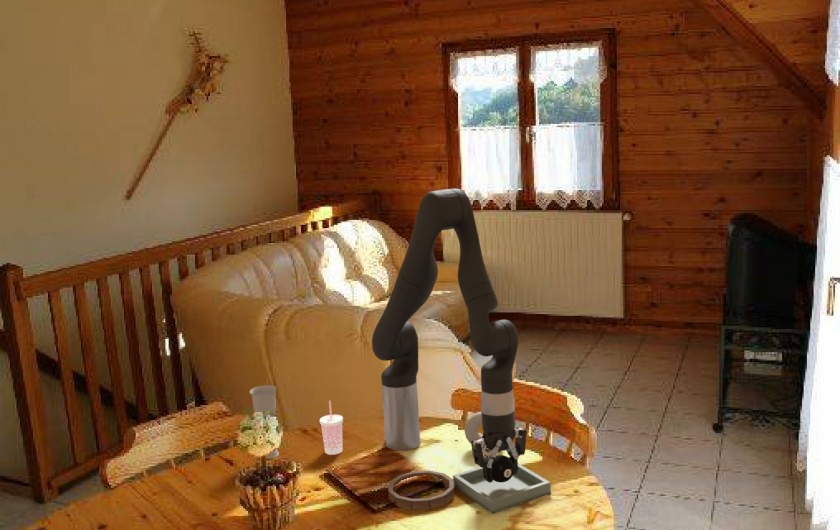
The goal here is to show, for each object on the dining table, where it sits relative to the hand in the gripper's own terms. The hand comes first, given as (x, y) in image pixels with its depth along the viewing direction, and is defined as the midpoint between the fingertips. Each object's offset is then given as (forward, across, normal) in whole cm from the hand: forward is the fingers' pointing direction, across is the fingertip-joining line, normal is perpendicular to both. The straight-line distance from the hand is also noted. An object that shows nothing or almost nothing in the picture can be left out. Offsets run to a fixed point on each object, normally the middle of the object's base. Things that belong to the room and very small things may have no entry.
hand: (500, 477), depth 186 cm
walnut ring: (+3, +16, -9) cm, 19 cm away
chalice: (+3, +38, -52) cm, 64 cm away
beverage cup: (+3, +23, -44) cm, 50 cm away
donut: (+3, -10, -22) cm, 24 cm away
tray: (+3, 0, 0) cm, 3 cm away
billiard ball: (+1, 0, 0) cm, 1 cm away
